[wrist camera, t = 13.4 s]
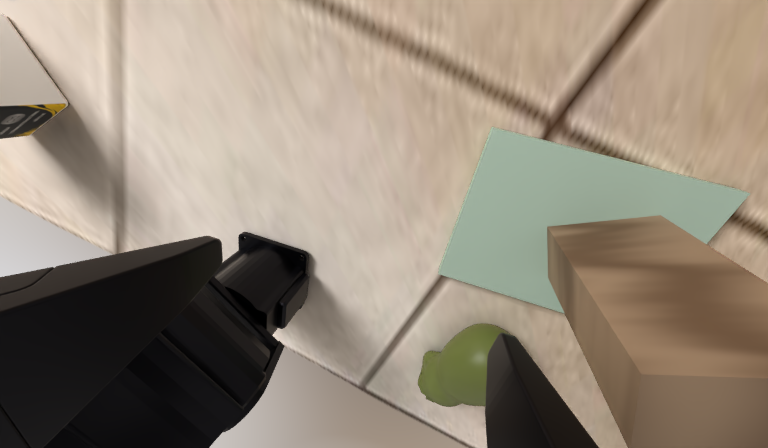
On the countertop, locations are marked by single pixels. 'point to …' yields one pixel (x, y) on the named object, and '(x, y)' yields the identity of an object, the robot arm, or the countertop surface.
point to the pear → (459, 368)
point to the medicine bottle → (24, 87)
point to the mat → (562, 209)
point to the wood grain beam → (666, 331)
